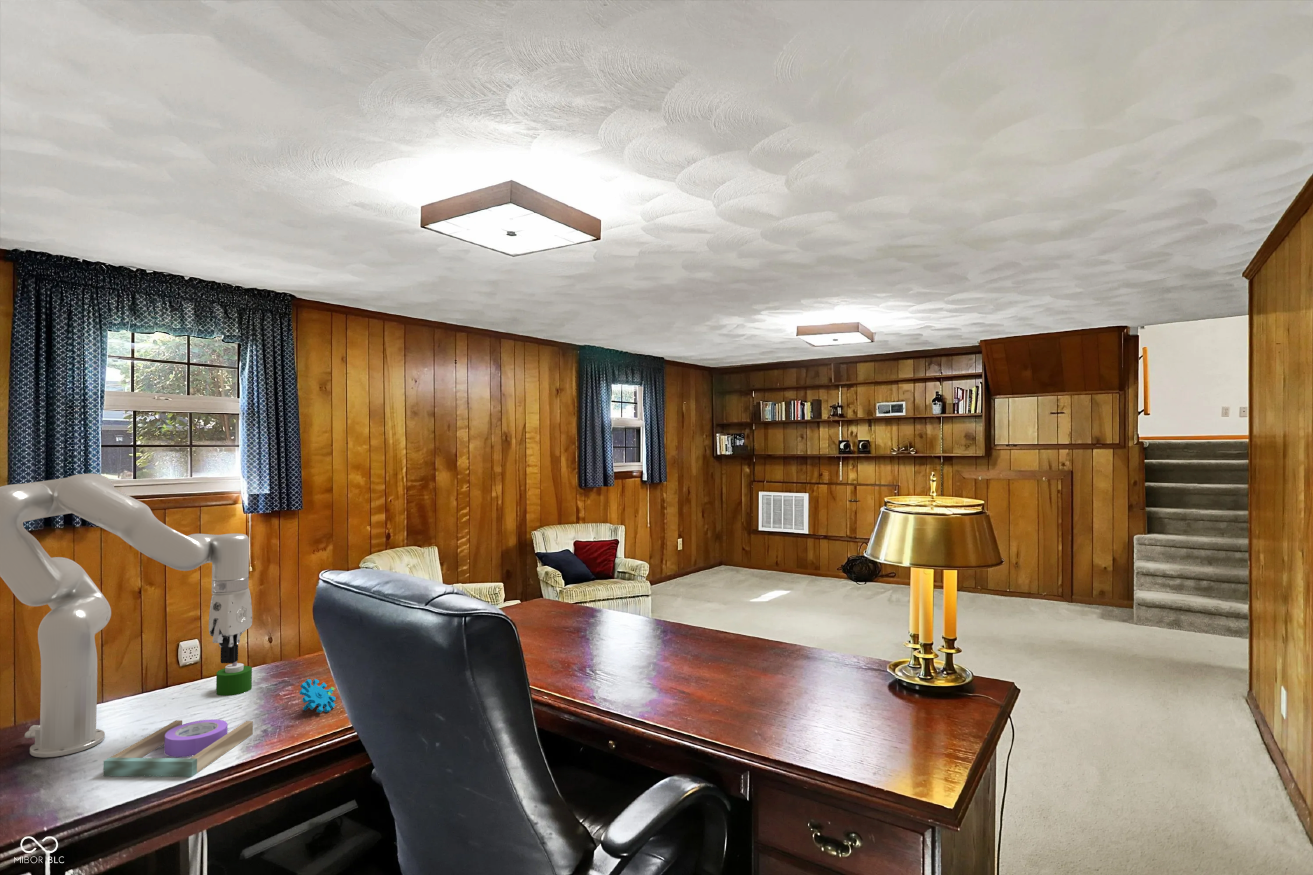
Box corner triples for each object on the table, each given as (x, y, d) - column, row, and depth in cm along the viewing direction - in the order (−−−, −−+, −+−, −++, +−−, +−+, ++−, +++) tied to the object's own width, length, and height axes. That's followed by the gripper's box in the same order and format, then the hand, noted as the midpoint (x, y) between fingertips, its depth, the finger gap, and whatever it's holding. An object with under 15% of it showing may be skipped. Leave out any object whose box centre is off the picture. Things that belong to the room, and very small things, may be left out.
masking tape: (178, 737, 156) (179, 720, 156) (235, 733, 159) (235, 716, 159) (153, 760, 145) (154, 742, 145) (215, 755, 148) (215, 737, 148)
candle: (210, 696, 181) (211, 659, 181) (223, 686, 189) (224, 650, 189) (244, 694, 183) (245, 657, 183) (256, 684, 191) (256, 648, 191)
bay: (103, 775, 138) (103, 760, 138) (175, 733, 158) (175, 720, 158) (191, 776, 137) (192, 761, 137) (252, 733, 158) (252, 721, 158)
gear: (317, 713, 166) (295, 680, 169) (300, 729, 167) (279, 697, 169) (347, 703, 177) (326, 672, 180) (331, 718, 177) (311, 688, 180)
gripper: (226, 592, 156) (224, 672, 156) (264, 579, 171) (263, 652, 171) (193, 592, 156) (192, 672, 156) (234, 579, 171) (233, 652, 171)
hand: (229, 661), depth 163 cm, fingers closed
